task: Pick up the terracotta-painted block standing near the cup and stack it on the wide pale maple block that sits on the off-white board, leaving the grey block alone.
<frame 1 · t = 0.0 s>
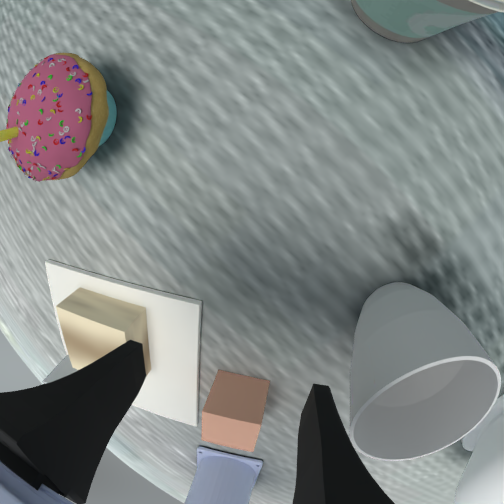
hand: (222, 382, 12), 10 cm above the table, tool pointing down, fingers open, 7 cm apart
cup: (392, 311, 20), on the table
grey block: (88, 372, 28), point 1 cm above the table, touching board
decorative vase: (503, 417, 23), on the table
maple block: (114, 329, 25), point 1 cm above the table, touching board
terracotta block: (241, 391, 25), on the table
coffee cup: (393, 6, 13), on the table
board: (121, 350, 26), on the table
cupcake: (94, 115, 19), on the table
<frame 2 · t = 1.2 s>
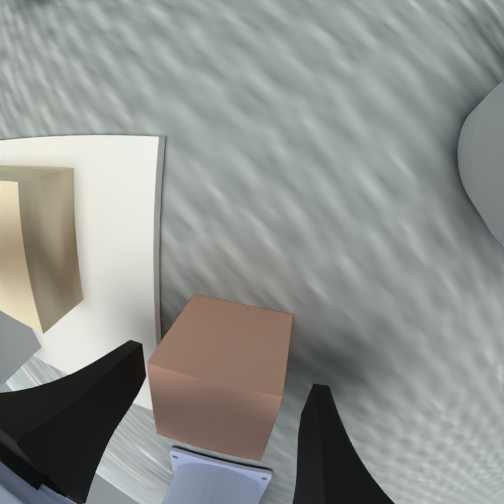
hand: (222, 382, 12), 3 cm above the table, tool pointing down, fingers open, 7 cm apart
cup: (499, 159, 9), on the table
grey block: (14, 320, 17), point 1 cm above the table, touching board
maple block: (33, 228, 13), point 1 cm above the table, touching board
terracotta block: (237, 342, 14), on the table
board: (47, 272, 15), on the table
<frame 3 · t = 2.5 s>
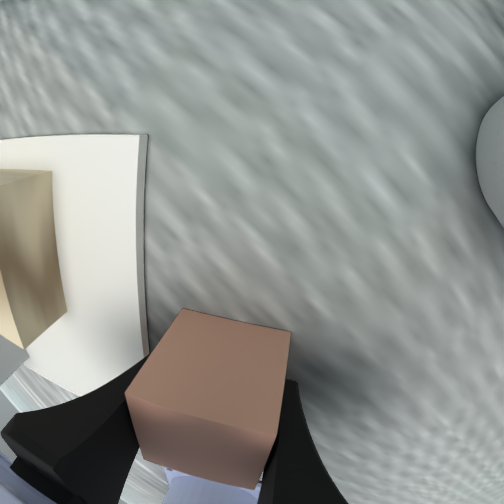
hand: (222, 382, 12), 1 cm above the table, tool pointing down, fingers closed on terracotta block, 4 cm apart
grey block: (2, 328, 16), point 1 cm above the table, touching board
maple block: (15, 235, 12), point 1 cm above the table, touching board
terracotta block: (230, 360, 13), on the table, touching gripper
board: (31, 281, 14), on the table
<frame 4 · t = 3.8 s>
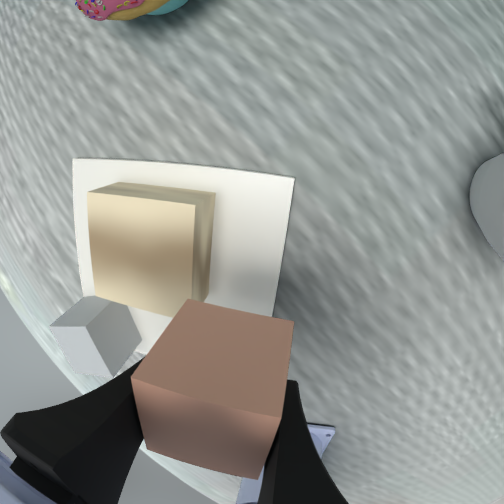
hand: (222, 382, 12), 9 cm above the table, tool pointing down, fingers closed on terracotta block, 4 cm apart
cup: (495, 194, 15), on the table
grey block: (112, 318, 23), point 1 cm above the table, touching board
maple block: (161, 238, 20), point 1 cm above the table, touching board
terracotta block: (234, 351, 13), point 8 cm above the table, touching gripper
board: (165, 274, 21), on the table
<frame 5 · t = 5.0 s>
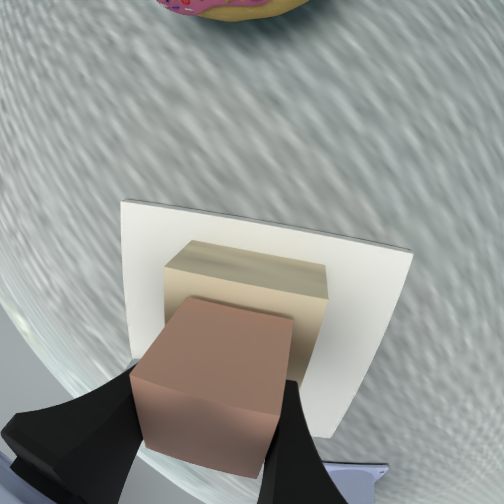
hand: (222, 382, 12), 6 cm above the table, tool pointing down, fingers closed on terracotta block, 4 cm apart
maple block: (248, 309, 17), point 1 cm above the table, touching board
terracotta block: (233, 350, 13), point 5 cm above the table, touching gripper
board: (244, 343, 19), on the table
when the fingers open (6 cm above the table, at t = 5.6 s): terracotta block stays where it is, resting on maple block.
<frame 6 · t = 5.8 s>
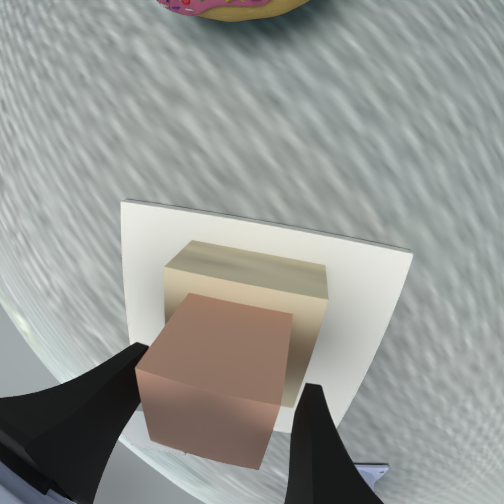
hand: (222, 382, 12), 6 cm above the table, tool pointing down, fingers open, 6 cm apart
grey block: (169, 382, 20), point 1 cm above the table, touching board
maple block: (248, 309, 17), point 1 cm above the table, touching board, terracotta block
terracotta block: (234, 344, 14), point 4 cm above the table, touching maple block
board: (244, 343, 19), on the table
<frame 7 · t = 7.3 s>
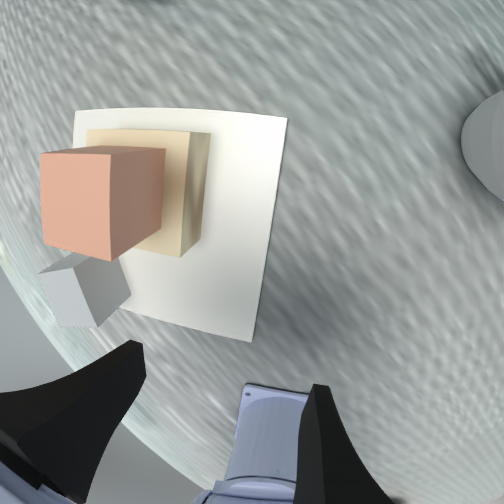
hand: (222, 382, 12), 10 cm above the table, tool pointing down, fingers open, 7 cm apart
cup: (486, 144, 15), on the table
grey block: (102, 272, 23), point 1 cm above the table, touching board
maple block: (156, 181, 19), point 1 cm above the table, touching board, terracotta block
terracotta block: (128, 185, 16), point 4 cm above the table, touching maple block
board: (158, 221, 21), on the table
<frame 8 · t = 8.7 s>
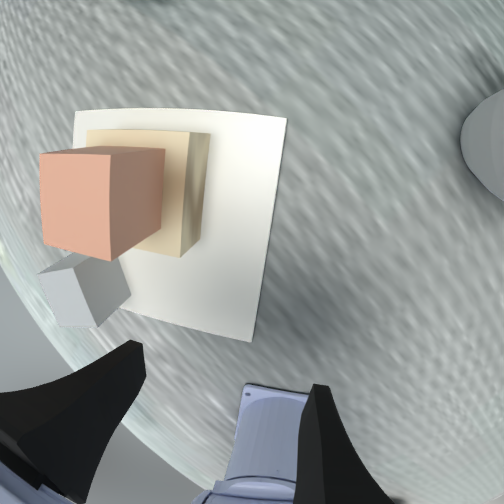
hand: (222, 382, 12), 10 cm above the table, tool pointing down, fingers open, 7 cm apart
cup: (486, 144, 15), on the table
grey block: (102, 272, 23), point 1 cm above the table, touching board
maple block: (156, 181, 19), point 1 cm above the table, touching board, terracotta block
terracotta block: (128, 185, 16), point 4 cm above the table, touching maple block
board: (158, 221, 21), on the table
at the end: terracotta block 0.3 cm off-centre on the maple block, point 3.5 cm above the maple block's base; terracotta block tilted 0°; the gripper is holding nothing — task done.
